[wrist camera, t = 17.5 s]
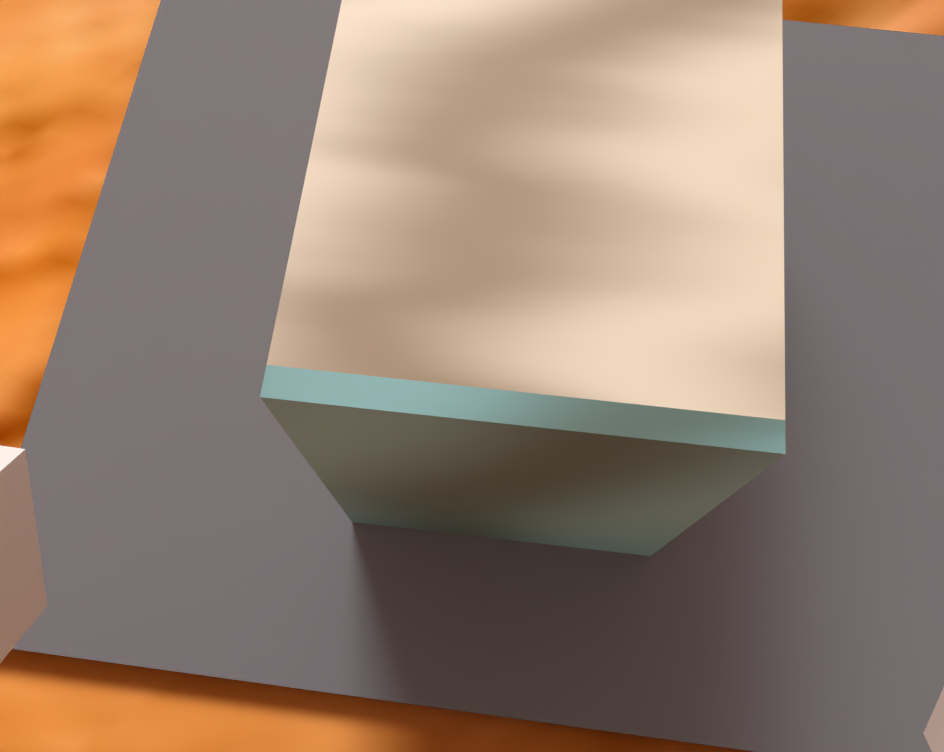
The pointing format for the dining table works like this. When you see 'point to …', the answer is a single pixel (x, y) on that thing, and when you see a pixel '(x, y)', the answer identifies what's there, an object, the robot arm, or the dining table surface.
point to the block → (540, 268)
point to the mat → (481, 558)
